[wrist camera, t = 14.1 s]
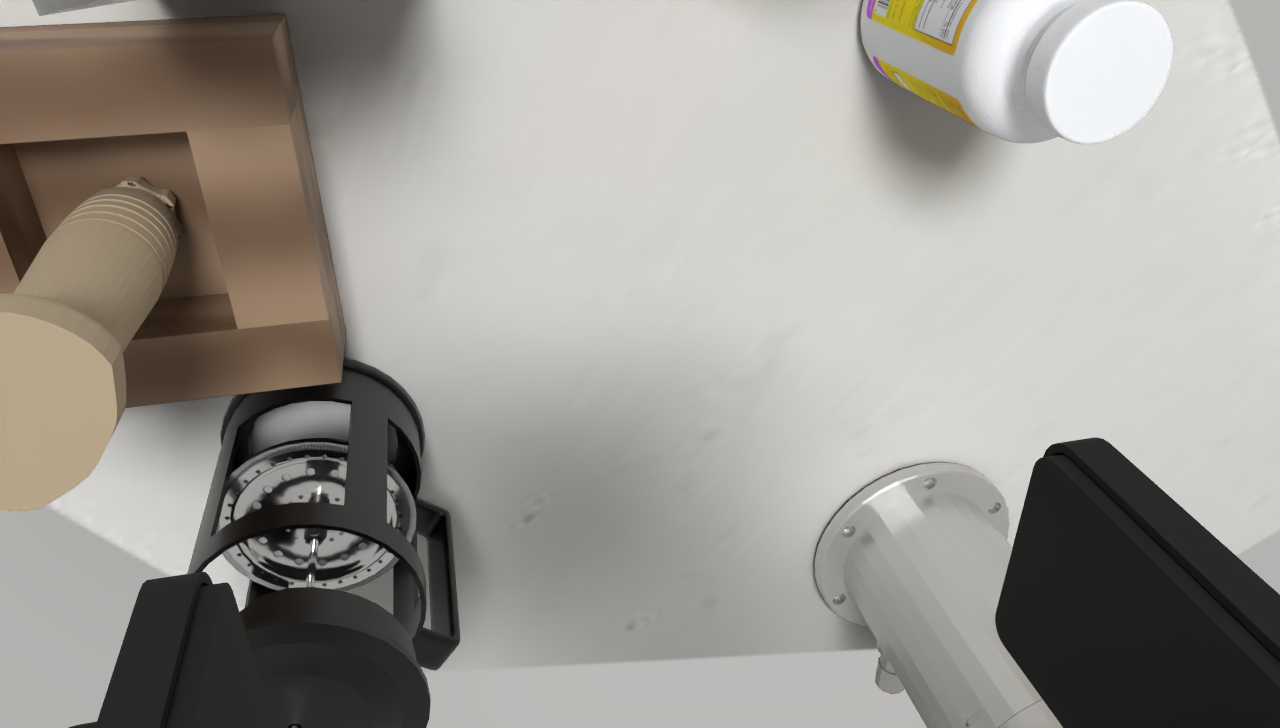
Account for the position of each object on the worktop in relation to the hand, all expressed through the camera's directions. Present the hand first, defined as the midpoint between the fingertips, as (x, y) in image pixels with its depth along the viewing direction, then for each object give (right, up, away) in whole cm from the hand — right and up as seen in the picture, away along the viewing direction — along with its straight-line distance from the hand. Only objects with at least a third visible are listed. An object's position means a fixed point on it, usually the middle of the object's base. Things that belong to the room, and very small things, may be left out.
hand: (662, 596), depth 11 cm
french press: (-15, -1, +35) cm, 39 cm away
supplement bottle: (+12, +19, +31) cm, 38 cm away
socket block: (-21, +9, +28) cm, 36 cm away
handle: (-20, +9, +27) cm, 35 cm away
